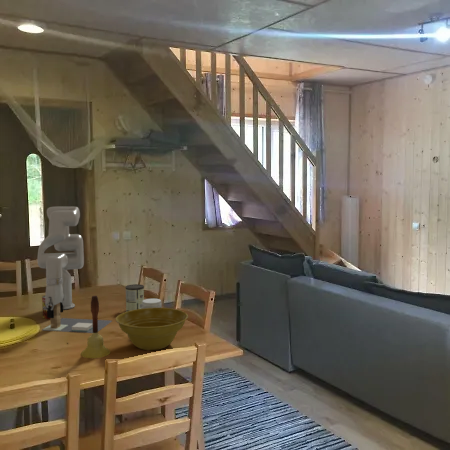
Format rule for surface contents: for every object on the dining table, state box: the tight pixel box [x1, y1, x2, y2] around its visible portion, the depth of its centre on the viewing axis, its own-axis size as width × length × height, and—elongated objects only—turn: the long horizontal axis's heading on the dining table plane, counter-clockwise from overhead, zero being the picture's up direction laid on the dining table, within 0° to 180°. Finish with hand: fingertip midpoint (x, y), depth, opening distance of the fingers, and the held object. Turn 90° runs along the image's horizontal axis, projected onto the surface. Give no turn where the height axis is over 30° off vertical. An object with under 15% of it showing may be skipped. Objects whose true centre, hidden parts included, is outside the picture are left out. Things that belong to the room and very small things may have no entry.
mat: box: [42, 317, 113, 334], centre depth 258 cm, size 28×22×1 cm
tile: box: [72, 323, 93, 332], centre depth 252 cm, size 8×2×7 cm
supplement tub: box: [142, 298, 163, 309], centre depth 254 cm, size 10×10×15 cm
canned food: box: [41, 294, 51, 320], centre depth 272 cm, size 8×8×12 cm
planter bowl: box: [115, 307, 189, 351], centre depth 230 cm, size 32×32×13 cm
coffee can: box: [125, 283, 145, 312], centre depth 289 cm, size 10×10×14 cm
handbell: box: [80, 295, 111, 359], centre depth 219 cm, size 12×12×25 cm
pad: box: [42, 324, 68, 332], centre depth 253 cm, size 9×9×1 cm
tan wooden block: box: [49, 303, 62, 328], centre depth 253 cm, size 4×4×12 cm
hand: (55, 315), depth 253 cm, fingers open, 9 cm apart
